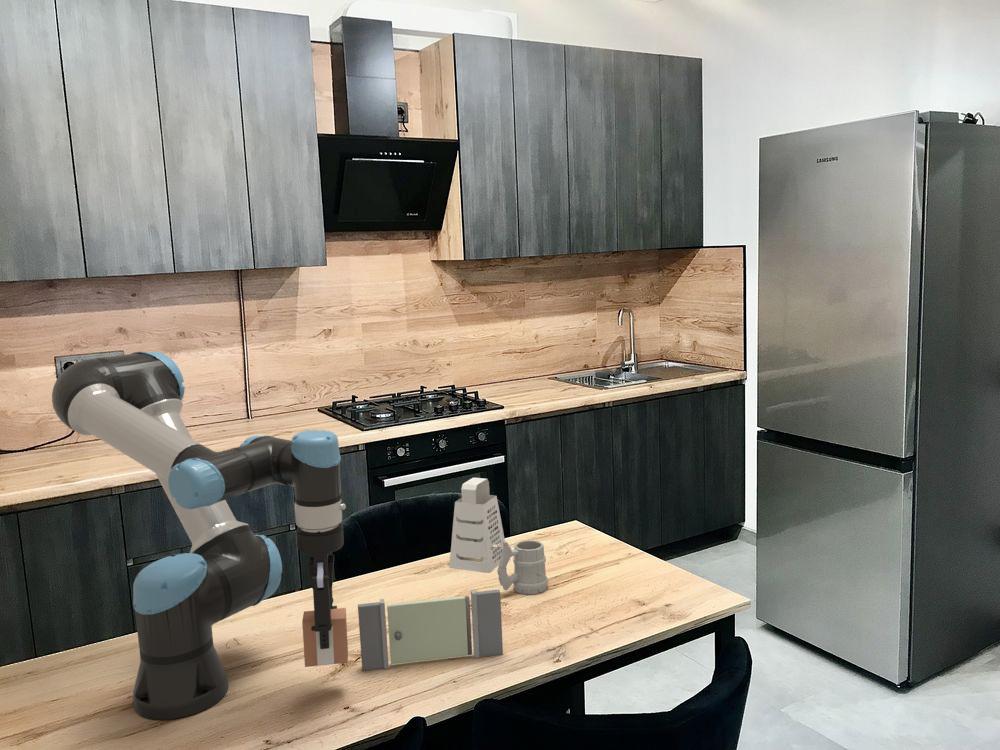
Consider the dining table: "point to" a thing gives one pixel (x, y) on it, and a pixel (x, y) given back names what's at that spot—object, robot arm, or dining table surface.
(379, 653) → the frame
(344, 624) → the orange brown rectangular block
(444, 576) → the dining table surface
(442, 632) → the door
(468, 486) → the grater
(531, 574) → the mug
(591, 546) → the dining table surface
